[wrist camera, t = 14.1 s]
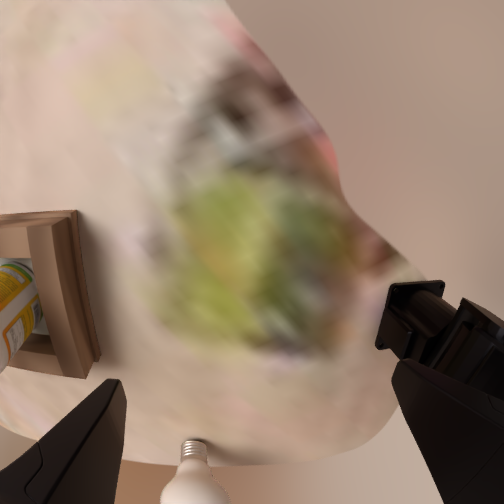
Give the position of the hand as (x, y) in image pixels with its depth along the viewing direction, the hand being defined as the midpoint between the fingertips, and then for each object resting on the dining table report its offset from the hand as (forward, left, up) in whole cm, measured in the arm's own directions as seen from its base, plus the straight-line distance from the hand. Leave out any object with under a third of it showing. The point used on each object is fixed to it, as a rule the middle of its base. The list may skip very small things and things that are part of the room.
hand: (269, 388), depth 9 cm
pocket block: (+17, +3, -13) cm, 22 cm away
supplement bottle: (+17, +3, -12) cm, 21 cm away
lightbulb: (+4, +21, -13) cm, 25 cm away
